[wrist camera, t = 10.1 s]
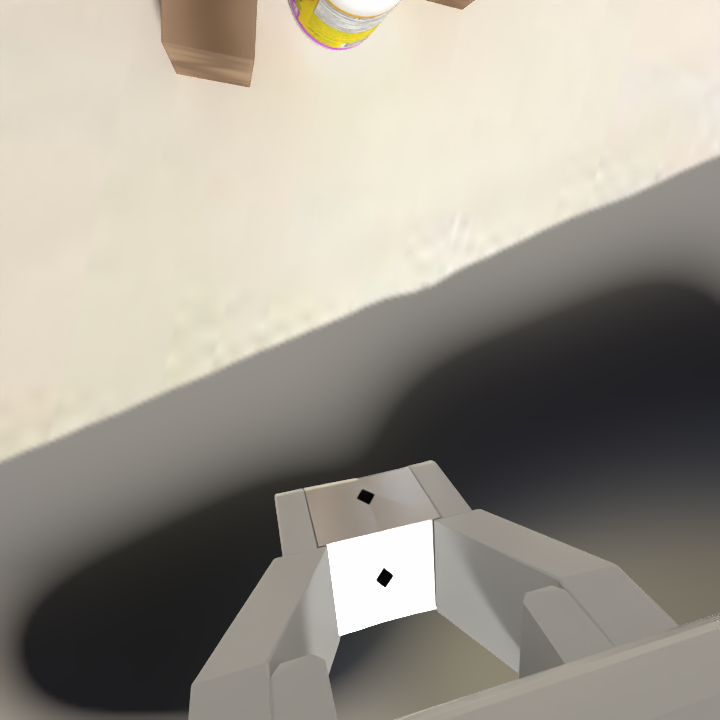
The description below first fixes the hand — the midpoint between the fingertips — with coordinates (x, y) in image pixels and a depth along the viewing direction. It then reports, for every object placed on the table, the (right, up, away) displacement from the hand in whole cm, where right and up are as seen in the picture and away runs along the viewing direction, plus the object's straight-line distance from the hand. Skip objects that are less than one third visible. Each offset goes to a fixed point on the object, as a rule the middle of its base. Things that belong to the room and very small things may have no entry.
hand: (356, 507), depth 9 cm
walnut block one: (-10, +25, +25) cm, 37 cm away
